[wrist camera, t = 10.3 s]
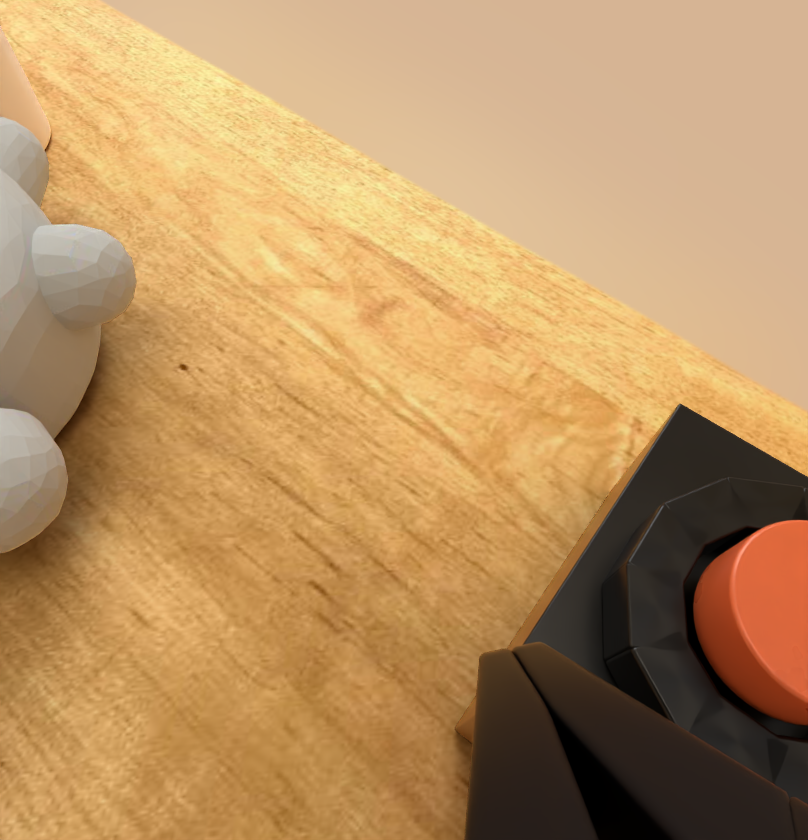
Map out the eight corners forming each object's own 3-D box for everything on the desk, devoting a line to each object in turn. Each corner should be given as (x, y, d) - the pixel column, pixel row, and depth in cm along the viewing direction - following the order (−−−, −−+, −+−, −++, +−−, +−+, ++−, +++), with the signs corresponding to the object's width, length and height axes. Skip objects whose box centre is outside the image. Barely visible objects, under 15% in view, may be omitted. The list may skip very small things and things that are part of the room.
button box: (698, 936, 16) (925, 1063, 9) (453, 729, 19) (488, 706, 12) (827, 628, 20) (1054, 555, 13) (612, 489, 23) (708, 365, 16)
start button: (836, 769, 12) (903, 769, 10) (662, 645, 13) (698, 629, 11) (893, 614, 13) (960, 594, 11) (732, 515, 14) (773, 484, 12)
